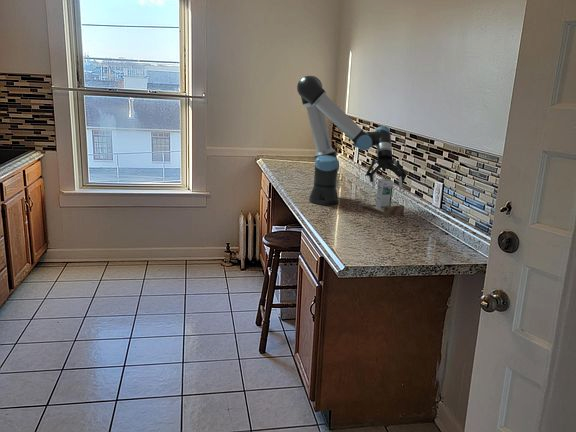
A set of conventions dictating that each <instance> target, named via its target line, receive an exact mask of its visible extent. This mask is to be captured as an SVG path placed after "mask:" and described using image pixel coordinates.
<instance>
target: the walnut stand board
mask: <svg viewBox="0 0 576 432" xmlns="http://www.w3.org/2000/svg"><path fill="white" fill-rule="evenodd" d="M363 209H365V210H367V211H370V212H373V213H376V214H378V215H382V216H385V217H390V216H397V215H404V211H405V205H403V204H400V205H393V206H391V207H385V208H384V209H381V210H380V209H378V208H377V207H376V204H369V205H363Z"/></svg>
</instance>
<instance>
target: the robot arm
mask: <svg viewBox="0 0 576 432" xmlns="http://www.w3.org/2000/svg"><path fill="white" fill-rule="evenodd" d="M296 90H297V93H298V95H299V96H300V98H301V99H300V100H301V102H302V106H304V107H305V109H306V111H307V116H308V117H307V118H308V120H309V125H310V130H311V134H312V138H313V143H314V147H315V152H314V155H313V156H314V175H313V176H314V178H313V186H312V189H311V193H310V195H309V197H308V200H309V201H308V202H310V203H312V204H316V205H323V206H334V205H337V204H338V203H339V197H338V191H337V180H338V172H339V171H340V170H339V169H340V160H339V159H338V156H337V152H336V149H335V148H333V147H332V142H331V138H330V133H329V129H328V123H327V120H326V117H327V118H328V119H329V120H330V122H331V123H333V124H334V125H335V127H337V128H338V129H339V130H340V131H341V132H342V133H343V134H344V135H345V136H347V138H349V139H350V140H351V142H352V143H353V146H354V148H358V149H359V150H360V151H368V150H370V148H371V147H375V146H376V153H377V155H376V156H377V159H375V158H372V160H371V163H370V165H369V168H368V169H367V171H366V173H365V176H366V177H368V178H369V182H370V183H371V185H372V186H371V187H372V189H375V187H376V181H375V178H376V177H375V174H376V173H377V172H378V171H379V170H380V169H382V170H390V171H391V172H392V173H393V174H395V175H396V177H397V178H398V189H399V191H402V189H403V185H404V182H405V181H404V179H406V178H407V176H408V174H407V173H406V170H405V169H404V168H403V167H402V165H401V163H400V161H399V160H398V159H397V160H396V161H394V160H393V159H394V158H393V149H392V147H393V146H392V136H391V135H392V134H391V130H390V128H389V126H387V125H380V126H378V127H377V128H376V129H375V131H367V132H366V131H364V130H363V129H362V128H361V127H360V126H359V125H358V124H357V123H356V122H355V121H354V120H353V119H352V118H351V117H350V116H349V115H348V114H347V113H346V112H345V111H344V110H342V109H341V108H340V106H338V105H337V104H336V103H335V101H333V100H332V99H331V98H330V97H329V96H328V95H327V92H326V90H325V89H324V88H323V84H322V81H321V80H320V79H319V78H318V77H317V76H315V75H305V76H303V77H301V78H300V79H299V80H298V83H297V85H296ZM376 164H377V166H376V167H375V168H374V165H376ZM373 168H374V169H373ZM372 169H373V170H372Z"/></svg>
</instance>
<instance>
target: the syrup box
mask: <svg viewBox="0 0 576 432" xmlns="http://www.w3.org/2000/svg"><path fill="white" fill-rule="evenodd" d="M393 189H394V180H392V179H391V178H386V179H385V178H379V179H377V189H376V191H377V192H376V200H375V205H376V207H377V208H378V209H380V210H381V209H384V208H385V207H391V205H392V197H393Z"/></svg>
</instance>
